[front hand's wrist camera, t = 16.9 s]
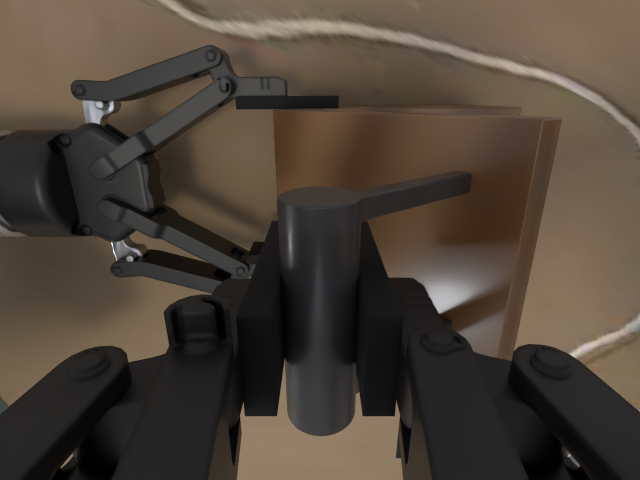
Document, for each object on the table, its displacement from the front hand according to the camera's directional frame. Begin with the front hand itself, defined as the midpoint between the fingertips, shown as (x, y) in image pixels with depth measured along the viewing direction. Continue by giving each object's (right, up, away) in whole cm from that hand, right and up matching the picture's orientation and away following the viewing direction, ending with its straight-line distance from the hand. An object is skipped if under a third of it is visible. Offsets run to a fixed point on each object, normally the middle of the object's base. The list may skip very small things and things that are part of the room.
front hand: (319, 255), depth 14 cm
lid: (+3, +2, +4) cm, 5 cm away
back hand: (+1, +5, +13) cm, 14 cm away
